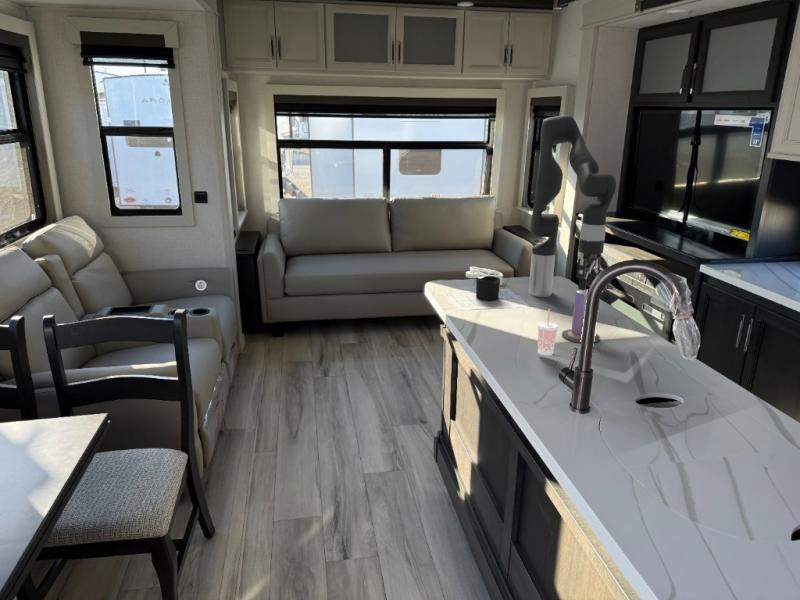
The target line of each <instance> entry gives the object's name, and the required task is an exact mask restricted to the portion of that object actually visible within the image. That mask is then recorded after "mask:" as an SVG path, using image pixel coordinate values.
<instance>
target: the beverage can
mask: <svg viewBox="0 0 800 600" xmlns="http://www.w3.org/2000/svg"><path fill="white" fill-rule="evenodd" d="M588 290H589V289H587V288H586V289H585V290H579V289H578V288H577V289H576V291H575V295H574V301H573V302H574V304H573V313H572V322H571V329H572V330H571V332H572V334H573V335H574V336H577V337H581V334H582V327H583V319H584V311H585V305H586V299H587V292H588Z"/></svg>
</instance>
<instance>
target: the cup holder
mask: <svg viewBox="0 0 800 600" xmlns="http://www.w3.org/2000/svg"><path fill="white" fill-rule="evenodd" d="M486 276H494V277H498V278H500V286H502V285H503V278H504V277H503V276H504V275H503V273H502V272H500V271H498V270H494V269H489V268H481V267H477V266H470V267H469V270H468V271H466V272H465V277H466V278H468V279H476V278H483V277H486Z"/></svg>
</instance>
